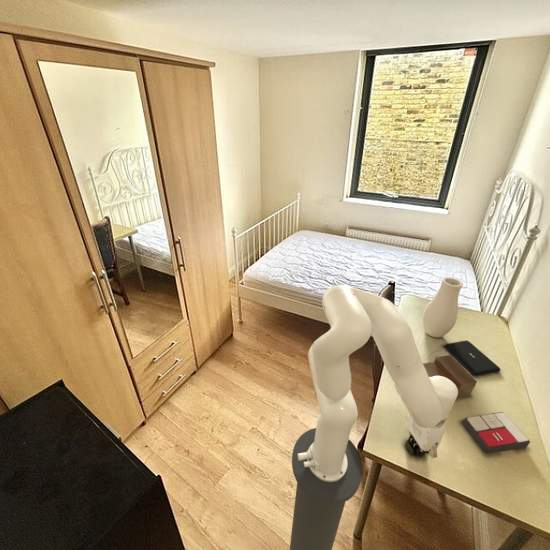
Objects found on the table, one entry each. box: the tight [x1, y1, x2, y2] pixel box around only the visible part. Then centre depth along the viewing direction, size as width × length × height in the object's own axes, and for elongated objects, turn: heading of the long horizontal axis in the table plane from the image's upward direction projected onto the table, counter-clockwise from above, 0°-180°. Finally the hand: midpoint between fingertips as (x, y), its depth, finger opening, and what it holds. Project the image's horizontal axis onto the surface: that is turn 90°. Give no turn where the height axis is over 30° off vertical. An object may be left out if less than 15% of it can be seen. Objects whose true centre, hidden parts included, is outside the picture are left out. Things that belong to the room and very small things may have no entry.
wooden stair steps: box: [422, 354, 478, 400], centre depth 114 cm, size 21×14×8 cm, turn 102°
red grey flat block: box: [462, 411, 531, 455], centre depth 98 cm, size 11×4×15 cm
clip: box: [404, 438, 420, 456], centre depth 93 cm, size 3×6×5 cm, turn 102°
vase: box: [422, 276, 464, 338], centre depth 137 cm, size 14×14×30 cm
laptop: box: [443, 340, 501, 377], centre depth 129 cm, size 16×20×2 cm
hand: (415, 448), depth 94 cm, fingers closed on clip, 3 cm apart
